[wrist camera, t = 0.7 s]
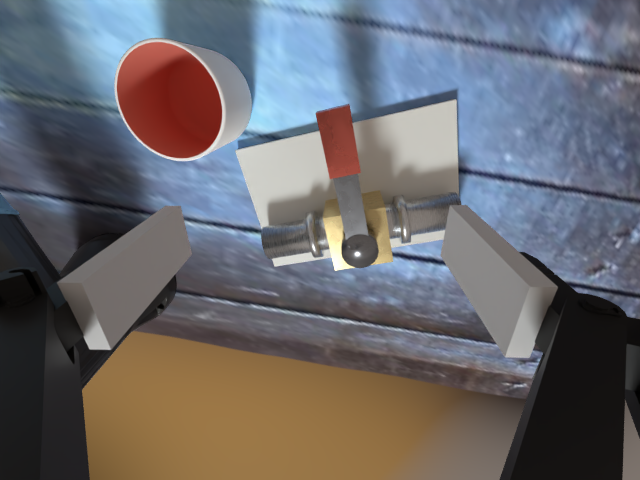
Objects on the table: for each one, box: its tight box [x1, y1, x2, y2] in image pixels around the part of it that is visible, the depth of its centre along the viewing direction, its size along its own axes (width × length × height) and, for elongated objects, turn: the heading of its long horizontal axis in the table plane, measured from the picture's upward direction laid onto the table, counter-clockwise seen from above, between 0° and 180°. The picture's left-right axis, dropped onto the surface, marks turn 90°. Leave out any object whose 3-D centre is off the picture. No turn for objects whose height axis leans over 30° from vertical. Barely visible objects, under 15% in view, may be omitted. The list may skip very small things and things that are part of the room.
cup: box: [114, 38, 252, 161], centre depth 31 cm, size 10×10×10 cm
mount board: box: [235, 99, 459, 266], centre depth 39 cm, size 26×17×1 cm, turn 103°
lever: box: [316, 104, 379, 268], centre depth 31 cm, size 16×4×2 cm, turn 13°
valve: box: [261, 190, 461, 270], centre depth 38 cm, size 24×7×7 cm, turn 103°
